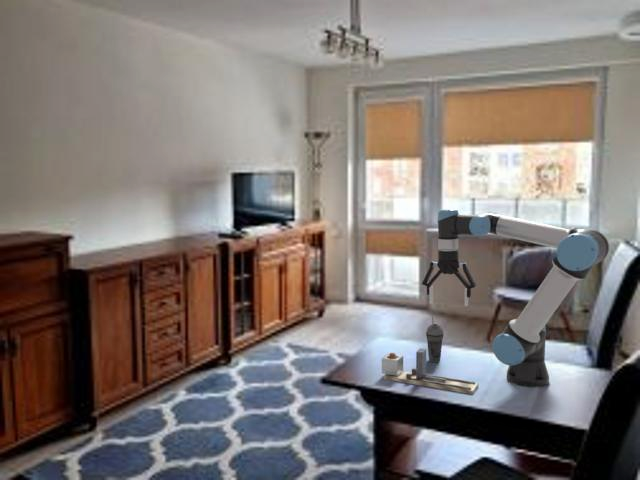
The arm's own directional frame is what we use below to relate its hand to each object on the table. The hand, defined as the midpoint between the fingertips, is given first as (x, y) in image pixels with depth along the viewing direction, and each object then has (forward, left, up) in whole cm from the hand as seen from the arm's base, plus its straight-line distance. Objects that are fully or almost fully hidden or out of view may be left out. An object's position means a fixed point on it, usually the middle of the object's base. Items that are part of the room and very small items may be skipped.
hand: (448, 304), depth 222 cm
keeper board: (+3, +12, -28) cm, 30 cm away
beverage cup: (+9, -13, -28) cm, 32 cm away
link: (+18, +12, -26) cm, 34 cm away
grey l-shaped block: (+3, +12, -26) cm, 29 cm away
